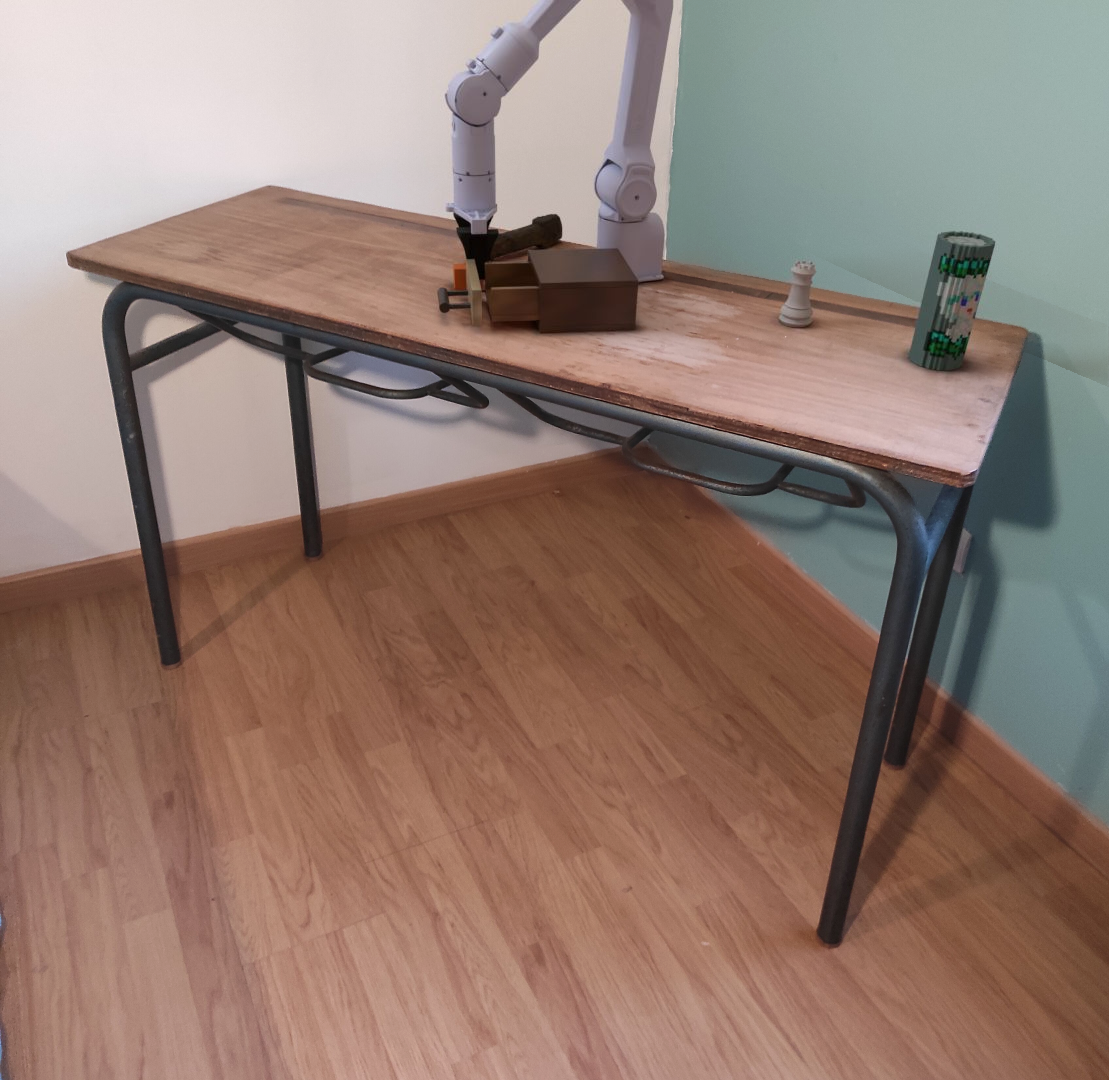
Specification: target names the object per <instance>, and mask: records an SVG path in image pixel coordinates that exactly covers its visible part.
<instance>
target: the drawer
mask: <svg viewBox="0 0 1109 1080" xmlns="http://www.w3.org/2000/svg"><path fill="white" fill-rule="evenodd" d="M465 264H466V285H467V290H455V289H454V290H453V289H451V290H448V289H447V288H446V287H444V286H441V287H439V288H438V289H437V292H436V293H437V301H438V309H439V311H440V312H441V313H442V314H447V313H449V312H450V310H469V314H470V318H471V324H472V327H483V300H482V299H483V296H482V295H483V293H482V291H483V290H481V286H480V281H479V277H478V272H477V268H476V264H475V259H466V258H465ZM539 291H540V286H539V284H538V281H537V278H536V276H535V273H534V270H533V268H532V265H531V263H530V261H528V260H515V261H514V260H513V261H511V260H510V261H493V262H490V261H489V262H485V291H484V294H485V297H486V302H487V306H488V310H489V311H488V312H489V314H490V319H491V322H495V323H496V322H523V321H528V322H529V321H536V320H539ZM450 297H467V302H460V303H459V302H458V303H457V302H456V303H453V302H452V303H451V302H450Z"/></svg>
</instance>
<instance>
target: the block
mask: <svg viewBox="0 0 1109 1080" xmlns="http://www.w3.org/2000/svg"><path fill="white" fill-rule="evenodd" d="M452 269H453V287H454V290H467V285H466V263H453V264H452ZM479 281H480V286H481V290H482V291H484V292H485V280H479Z"/></svg>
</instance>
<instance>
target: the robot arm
mask: <svg viewBox="0 0 1109 1080" xmlns="http://www.w3.org/2000/svg"><path fill="white" fill-rule="evenodd" d="M581 1H582V0H537V1H536V3H534V4H533V6H532V7H531V8H530V10H529V11H528V12H527V14H526V15H525V16H524V17H523V19H522V20H521V21H519V22H513V21H512V22H511V21H509V22H506V23H505V24H504V25H503V26H502V27H500V26H498V25H496V26H495V27H494V28H493V29H492V30H491V31H490V36H491V37H492V39H491V40H490V41H489V42H488V43H487V44H486V45H485V46H484V47H483V49H481V51H480V52H479V53H478V54H477V55H476V57H475V58H474V59H473V58H469V59H468V60H467V61H466V62H465V66H466V68H467V69H468V70H463V71H460V72H458V73H456V74H455V75H454V76H453V77H452V78H451V79H450V81H449V82H448V86H447V90H446V92H445V93H444V100H445V103H446V105H447V108H448V110H450V111H451V160H452V161H451V162H452V186H453V187H452V188H453V189H452V190H453V202H447V203H445V205H444V206H445V212H447V213H452V215H453V218H454V220H455V222H456V224H457V227H455V229H456V235H457V237H458V239H459V241H460V242H461V245H462V247H463V250H464V254H465V260H466V259H475V264H476V268H477V272H478V277H479V280H485V262H490V255H491V251H492V248H493V246H494V243H495V241H496V239H497V237H498V234H500V232H499V229H498V228H490V225H491V222H492V220H493V218H494V215H495V214H496V213H497V212H498V204H497V193H496V192H497V191H496V190H497V187H496V186H497V185H496V183H497V181H496V135H495V118H496V117H497V116H498V115H499V113H500V111H501V106H502V98H504V97H506V96H507V95H508V93H509V92H510V91H511V90H512V89H513V88H514V87H515V86H516V85H517V83H519V81H520V80H521V79H522V78H523V77H524V76H525V74H527V72H528V71H529V70H530V69H532V67H533V66H534V64H536V62H537V61H538V60H539V58H540V57H539V56H540V43H541V41H543V39H545V38H546V37H547V36H548V35H549V34H550V33H551V32H552V31H553V30H554V28H555V27H557V25H558V24H560V22H561V21H562V20H563V19H564V18H565V17H566V16H567V15H568V14H569V13H570V12H571V11H572V10H573V9H574V8H575V7H576V6H577V5H578V4H579V3H580V2H581ZM620 1H621V3H622V4H623V5H624V6H625V8H626V9H627V10H628V12H629V15H630V19H629V26H628V30H627V31H628V32H627V37H626V38H627V39H626V46H625V52H624V60H623V64H622V65H623V66H622V71H621V72H622V73H621V79H620V86H619V93H618V99H617V100H618V101H617V105H616V106H617V107H616V112H615V113H616V114H615V120H614V127H613V134H612V140H611V141H610V143H608V145H607V147H606V148H605V149H604V152H603V159H602V161H601V165H600V167H599V168H598V169H597V171H596V173H595V175H594V179H593V190H594V191H593V192H594V193H595V195H596V197H597V198H598V200H599V201H600V204H599V208H598V211H597V234H596V249H607V248H618V249H619V251H620V252H621V254H622V256H623V257H624V259H625V260H626V262H627V263H628V265H629V267H630V268H631V270H632V271H633V273H634V274H635V276H636V277H637V279H638V281H639V282H638V283H642V282H651V281H659V280H664V278H665V276H664V274H662V272H663V261H664V260H663V259H664V247H665V235H666V234H665V226H664V222H663V219H662V218H661V216H660V214H658V213H657V212H652V210H653V209H654V207H655V205H656V202H657V197H658V192H657V187H656V183H655V171H656V163H655V160H654V157H653V154H652V150H651V143H652V137H653V132H654V126H655V125H654V124H655V118H656V113H657V107H658V101H659V96H660V95H659V94H660V89H661V83H662V77H663V71H664V66H665V65H664V64H665V59H666V55H667V54H666V53H667V47H668V41H669V36H670V35H669V34H670V30H671V23H672V17H673V11H674V0H620Z"/></svg>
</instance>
